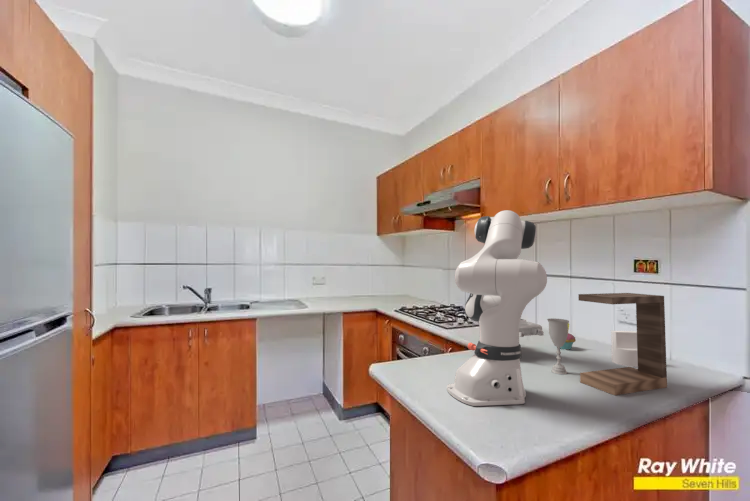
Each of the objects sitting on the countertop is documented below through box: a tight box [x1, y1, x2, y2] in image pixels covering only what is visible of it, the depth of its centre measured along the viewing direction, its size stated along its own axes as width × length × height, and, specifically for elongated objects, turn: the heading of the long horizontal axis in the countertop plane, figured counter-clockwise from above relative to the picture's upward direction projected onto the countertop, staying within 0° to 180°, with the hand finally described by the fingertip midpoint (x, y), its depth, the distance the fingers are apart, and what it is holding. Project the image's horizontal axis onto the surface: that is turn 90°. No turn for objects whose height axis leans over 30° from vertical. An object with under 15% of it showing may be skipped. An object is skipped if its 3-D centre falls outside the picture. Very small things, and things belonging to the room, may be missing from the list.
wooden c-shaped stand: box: [578, 292, 668, 396], centre depth 103 cm, size 22×11×28 cm, turn 108°
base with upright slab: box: [610, 330, 638, 368], centre depth 126 cm, size 9×9×12 cm
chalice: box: [546, 318, 570, 375], centre depth 115 cm, size 7×7×18 cm
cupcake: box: [560, 322, 576, 350], centre depth 148 cm, size 9×8×12 cm
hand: (532, 334), depth 127 cm, fingers open, 8 cm apart
